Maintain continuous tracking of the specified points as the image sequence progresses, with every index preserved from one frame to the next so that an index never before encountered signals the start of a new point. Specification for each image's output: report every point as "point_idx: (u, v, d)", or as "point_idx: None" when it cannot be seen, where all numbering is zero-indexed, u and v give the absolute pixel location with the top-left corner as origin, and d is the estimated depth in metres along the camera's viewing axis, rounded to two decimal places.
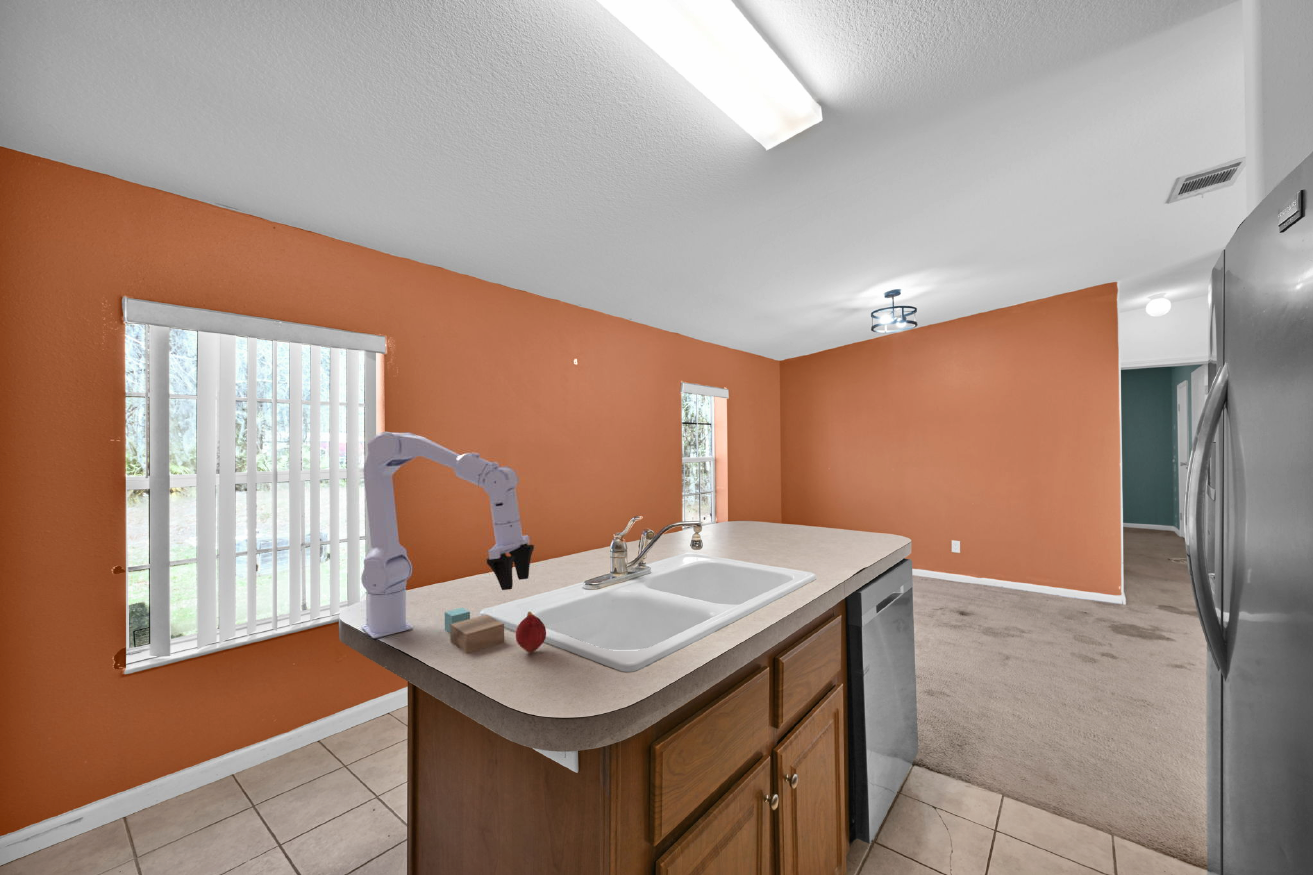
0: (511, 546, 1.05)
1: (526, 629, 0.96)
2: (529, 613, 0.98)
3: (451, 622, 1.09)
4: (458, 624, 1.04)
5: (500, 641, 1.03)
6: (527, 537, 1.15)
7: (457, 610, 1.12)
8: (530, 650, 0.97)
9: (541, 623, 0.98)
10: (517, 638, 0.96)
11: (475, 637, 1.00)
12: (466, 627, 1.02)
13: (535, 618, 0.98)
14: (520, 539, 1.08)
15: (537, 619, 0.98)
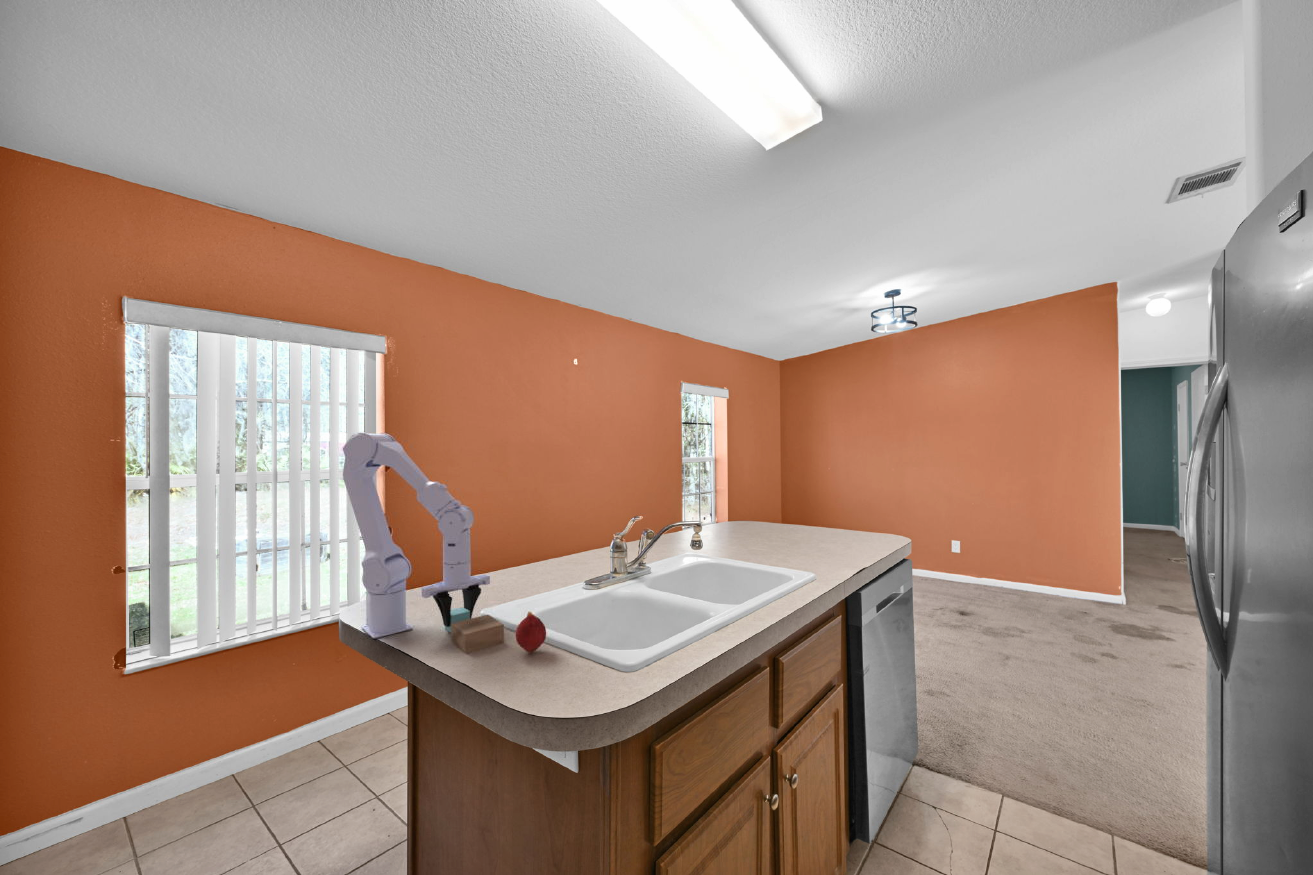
0: (446, 588, 1.07)
1: (526, 629, 0.96)
2: (529, 613, 0.98)
3: (451, 621, 1.09)
4: (459, 624, 1.04)
5: (500, 642, 1.03)
6: (486, 578, 1.15)
7: (457, 610, 1.12)
8: (530, 650, 0.97)
9: (541, 623, 0.98)
10: (517, 638, 0.96)
11: (474, 637, 1.00)
12: (466, 627, 1.02)
13: (535, 618, 0.98)
14: (460, 582, 1.09)
15: (537, 619, 0.98)
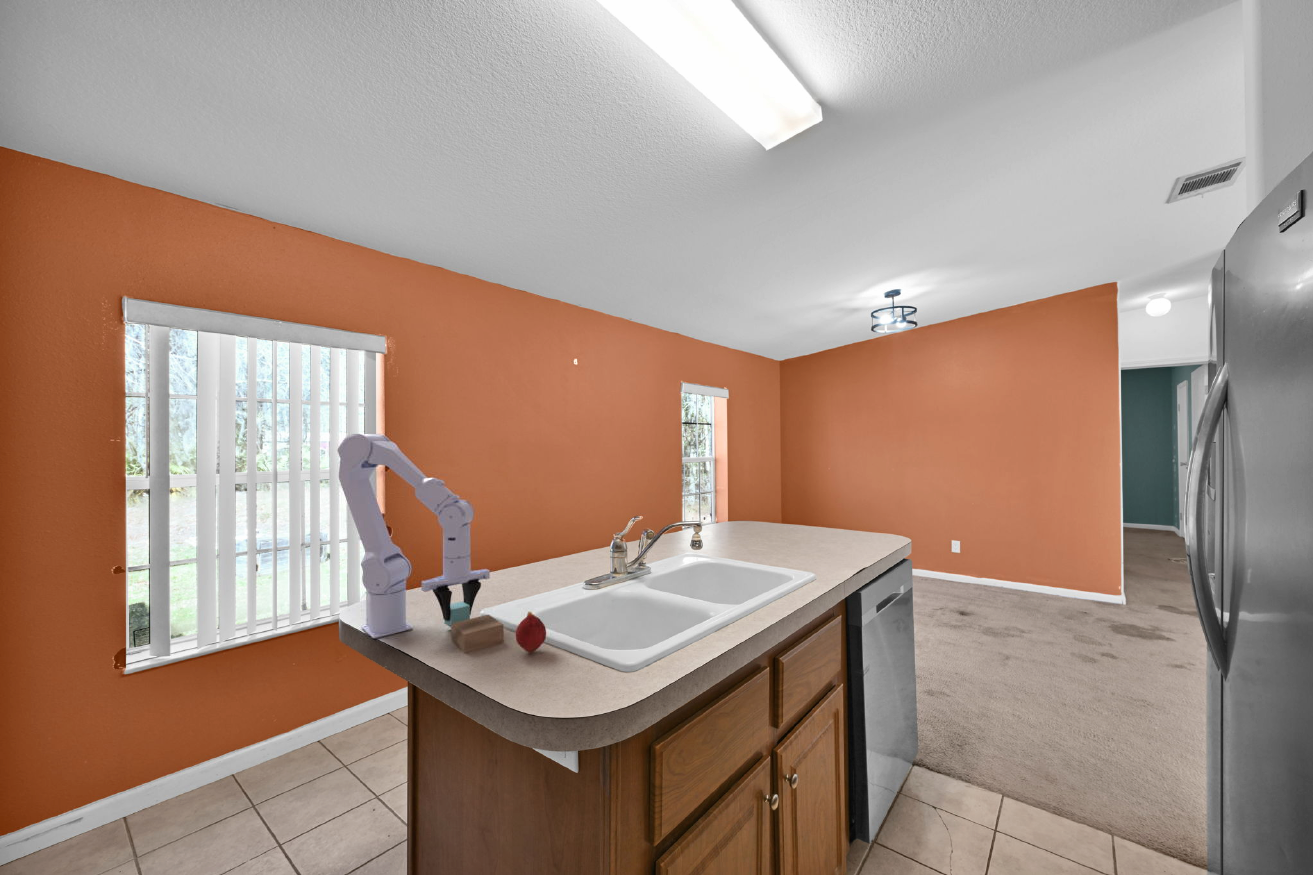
0: (446, 582, 1.07)
1: (526, 629, 0.96)
2: (529, 613, 0.98)
3: (451, 616, 1.09)
4: (459, 624, 1.04)
5: (499, 642, 1.03)
6: (486, 572, 1.15)
7: (457, 604, 1.12)
8: (530, 650, 0.97)
9: (541, 623, 0.98)
10: (517, 638, 0.96)
11: (473, 637, 1.00)
12: (465, 627, 1.02)
13: (535, 618, 0.98)
14: (460, 576, 1.09)
15: (537, 619, 0.98)
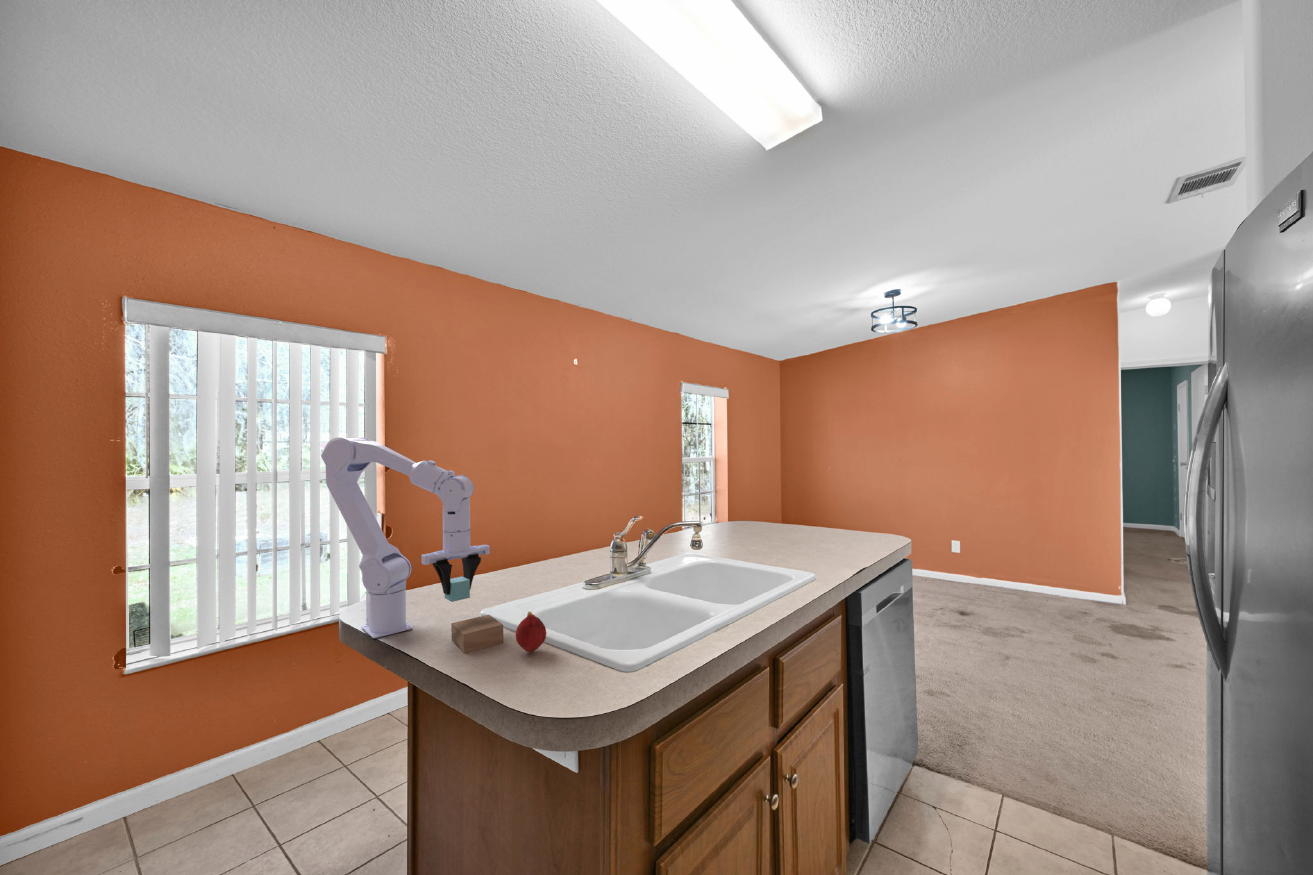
0: (445, 555, 1.08)
1: (526, 629, 0.96)
2: (529, 613, 0.98)
3: (451, 589, 1.09)
4: (459, 624, 1.04)
5: (499, 642, 1.03)
6: (485, 548, 1.15)
7: (457, 578, 1.12)
8: (530, 650, 0.97)
9: (541, 623, 0.98)
10: (517, 638, 0.96)
11: (473, 637, 0.99)
12: (465, 627, 1.02)
13: (535, 618, 0.98)
14: (460, 550, 1.09)
15: (537, 619, 0.98)
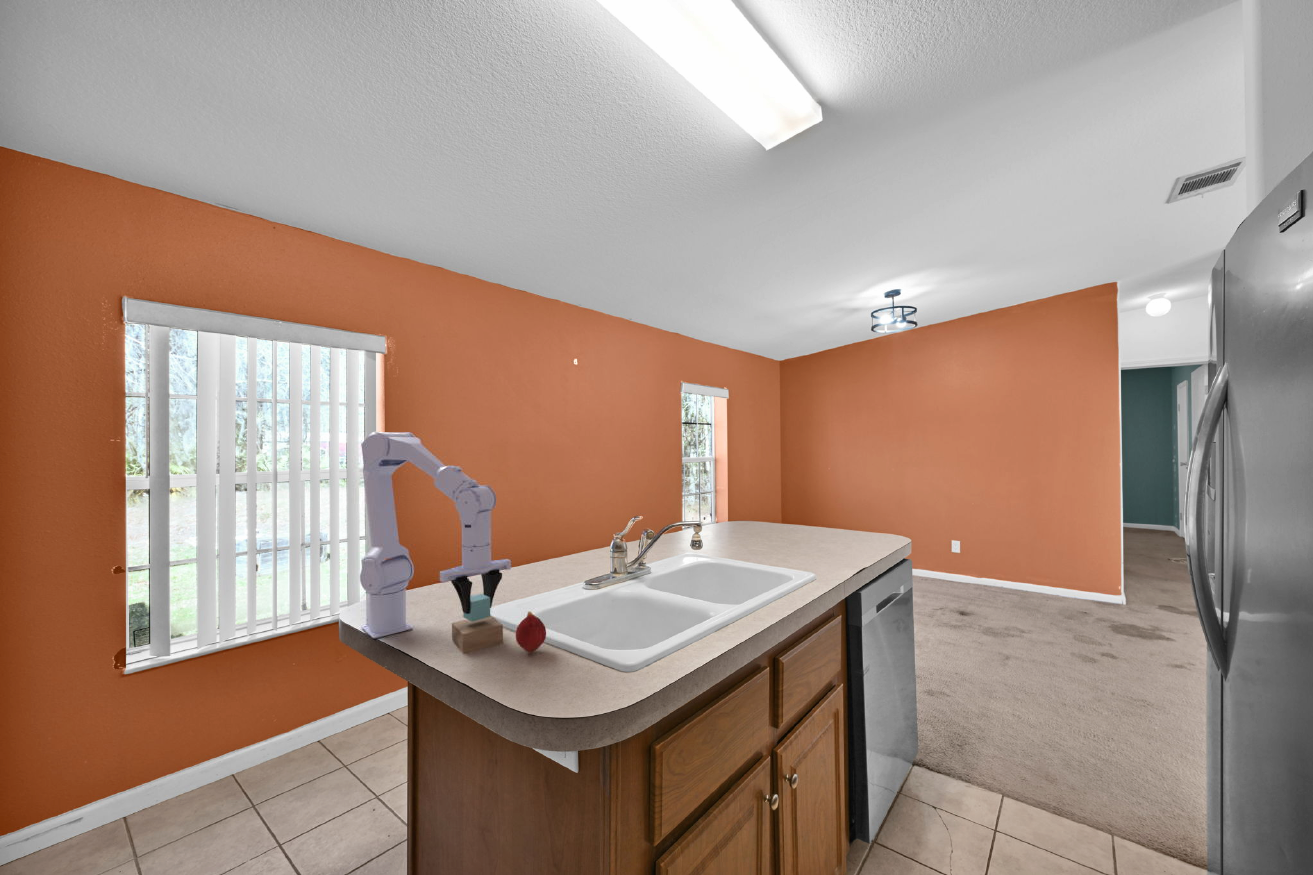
0: (465, 572, 1.00)
1: (526, 629, 0.96)
2: (529, 613, 0.98)
3: (470, 608, 1.02)
4: (459, 623, 1.04)
5: (498, 642, 1.03)
6: (507, 562, 1.08)
7: (476, 596, 1.05)
8: (530, 650, 0.97)
9: (541, 623, 0.98)
10: (517, 638, 0.96)
11: (472, 637, 0.99)
12: (465, 626, 1.02)
13: (535, 618, 0.98)
14: (481, 566, 1.02)
15: (537, 619, 0.98)
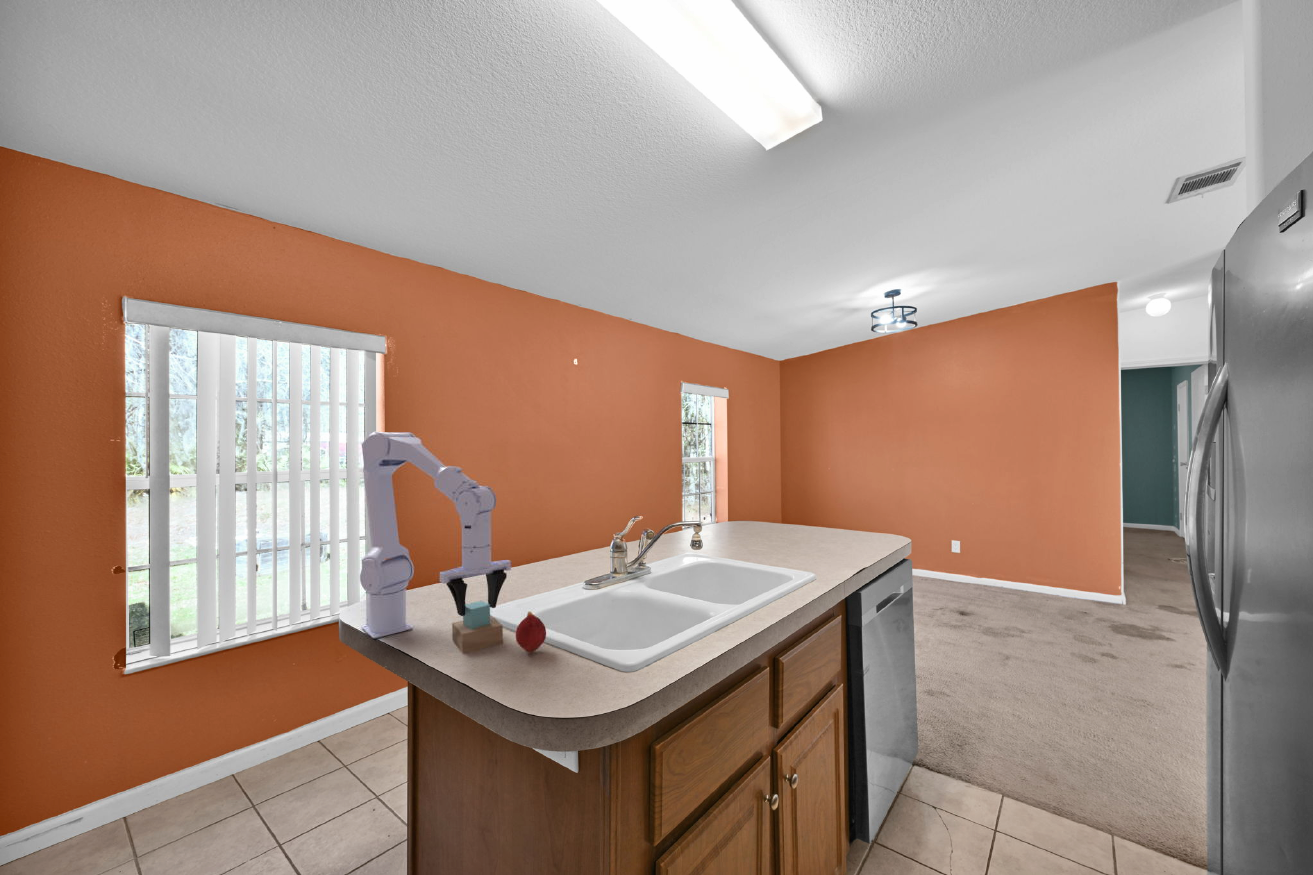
0: (465, 573, 1.00)
1: (526, 629, 0.96)
2: (529, 613, 0.98)
3: (470, 616, 1.01)
4: (459, 623, 1.04)
5: (498, 643, 1.03)
6: (507, 563, 1.08)
7: (476, 603, 1.05)
8: (530, 650, 0.97)
9: (541, 623, 0.98)
10: (517, 638, 0.96)
11: (472, 638, 0.99)
12: (465, 627, 1.02)
13: (535, 618, 0.98)
14: (481, 567, 1.02)
15: (537, 619, 0.98)
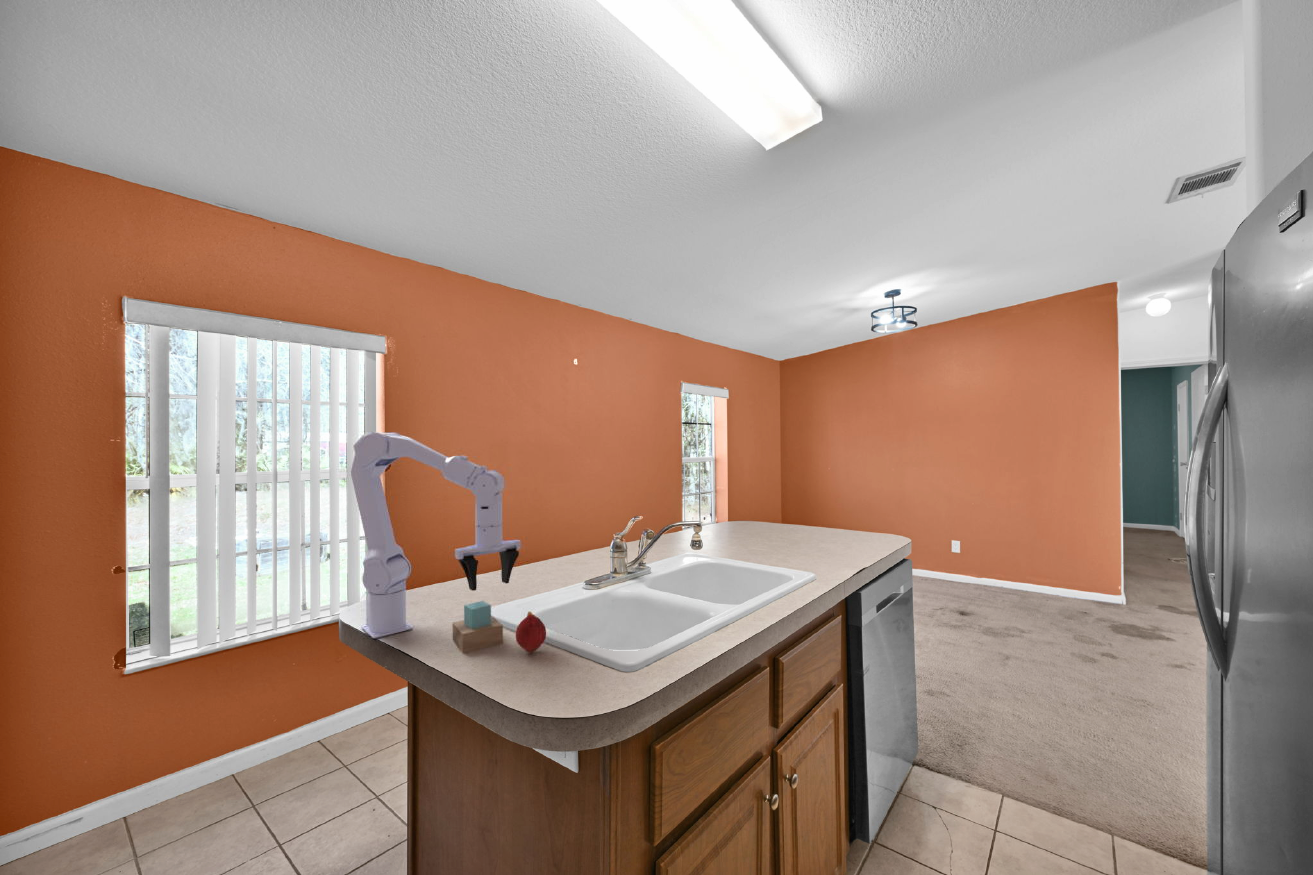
0: (479, 550, 1.08)
1: (526, 629, 0.96)
2: (529, 613, 0.98)
3: (471, 616, 1.01)
4: (459, 623, 1.04)
5: (498, 642, 1.03)
6: (517, 543, 1.15)
7: (477, 603, 1.05)
8: (530, 650, 0.97)
9: (541, 623, 0.98)
10: (517, 638, 0.96)
11: (472, 637, 1.00)
12: (465, 626, 1.02)
13: (535, 618, 0.98)
14: (493, 545, 1.09)
15: (537, 619, 0.98)
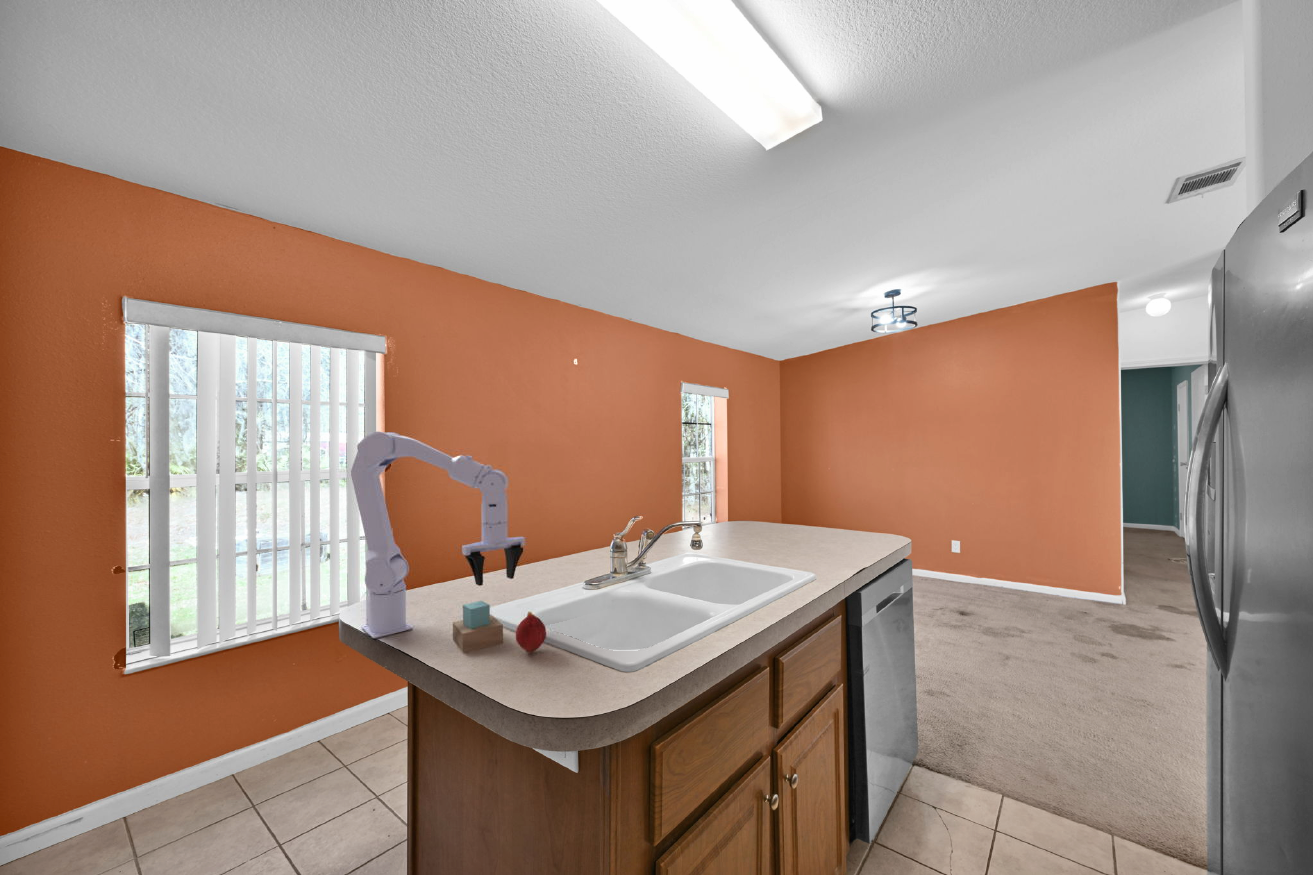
0: (485, 546, 1.12)
1: (526, 629, 0.96)
2: (529, 613, 0.98)
3: (470, 616, 1.01)
4: (460, 623, 1.04)
5: (498, 642, 1.03)
6: (521, 539, 1.19)
7: (476, 603, 1.05)
8: (530, 650, 0.97)
9: (541, 623, 0.98)
10: (517, 638, 0.96)
11: (472, 637, 1.00)
12: (466, 626, 1.03)
13: (535, 618, 0.98)
14: (499, 541, 1.13)
15: (537, 619, 0.98)
